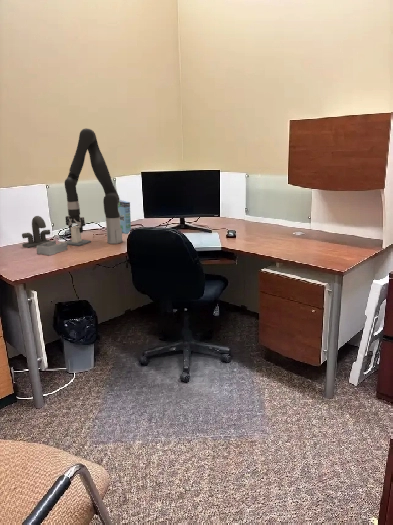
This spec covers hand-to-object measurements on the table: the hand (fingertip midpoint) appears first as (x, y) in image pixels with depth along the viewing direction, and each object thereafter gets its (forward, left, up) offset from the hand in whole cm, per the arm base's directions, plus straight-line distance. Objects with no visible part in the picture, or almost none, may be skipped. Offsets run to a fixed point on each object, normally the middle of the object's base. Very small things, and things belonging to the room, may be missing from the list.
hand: (76, 232), depth 278 cm
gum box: (-7, -42, -8) cm, 43 cm away
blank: (0, 0, -7) cm, 7 cm away
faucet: (+18, +15, -8) cm, 25 cm away
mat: (0, 0, -8) cm, 8 cm away
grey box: (0, +22, -8) cm, 23 cm away
